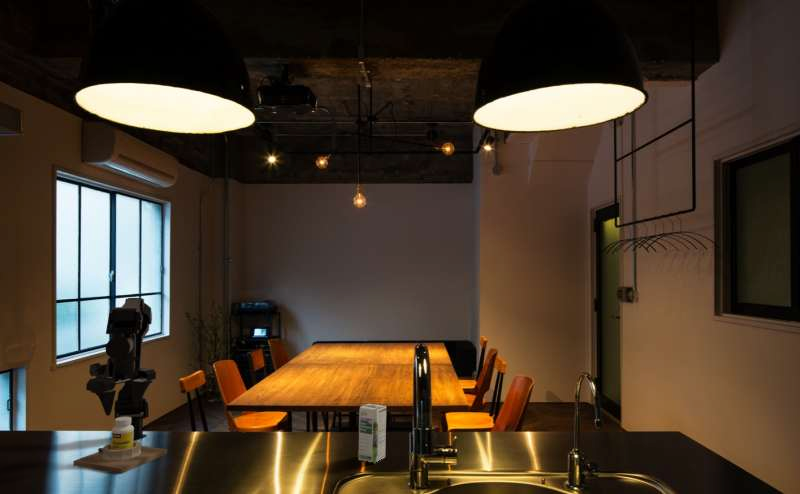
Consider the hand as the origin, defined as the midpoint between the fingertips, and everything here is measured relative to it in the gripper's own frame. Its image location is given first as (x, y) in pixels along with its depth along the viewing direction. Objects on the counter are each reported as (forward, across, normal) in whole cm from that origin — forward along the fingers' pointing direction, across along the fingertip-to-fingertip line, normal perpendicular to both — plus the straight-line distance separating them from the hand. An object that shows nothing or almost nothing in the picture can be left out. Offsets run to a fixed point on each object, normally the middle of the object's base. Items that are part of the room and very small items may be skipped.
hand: (121, 411), depth 150 cm
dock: (+13, 0, 0) cm, 13 cm away
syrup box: (+13, -25, +64) cm, 69 cm away
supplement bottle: (+12, 0, 0) cm, 12 cm away
